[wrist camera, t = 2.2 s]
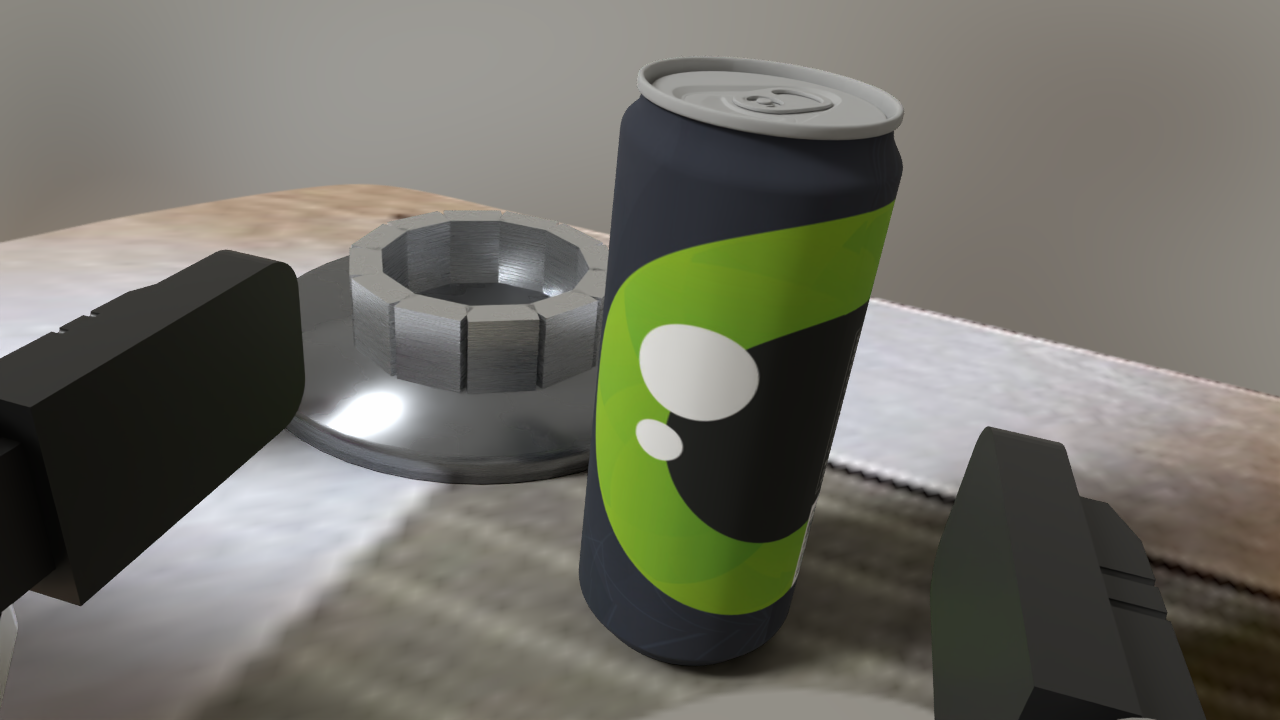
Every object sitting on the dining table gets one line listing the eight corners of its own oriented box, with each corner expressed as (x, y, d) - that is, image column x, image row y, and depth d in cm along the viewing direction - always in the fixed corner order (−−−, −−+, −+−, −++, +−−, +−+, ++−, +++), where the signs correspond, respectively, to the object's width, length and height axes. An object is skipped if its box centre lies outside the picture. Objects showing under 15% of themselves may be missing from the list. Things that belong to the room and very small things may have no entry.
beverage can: (684, 503, 31) (759, 46, 23) (828, 615, 27) (974, 111, 19) (534, 579, 27) (566, 61, 19) (677, 722, 23) (786, 146, 15)
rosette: (729, 306, 44) (743, 225, 42) (634, 537, 29) (648, 430, 27) (393, 235, 47) (390, 157, 45) (145, 411, 32) (123, 305, 30)
